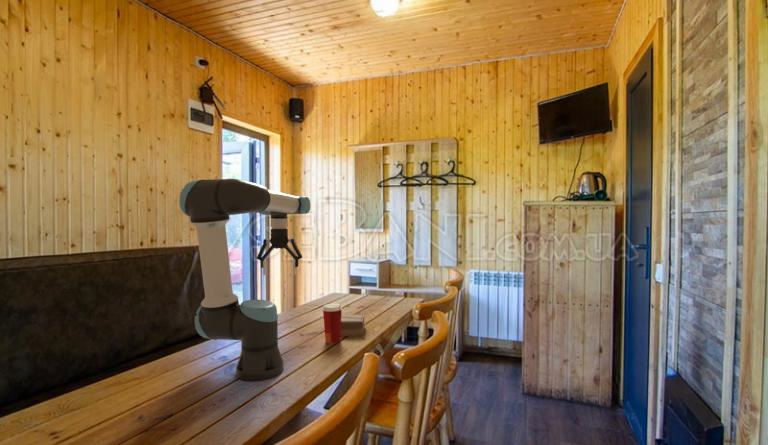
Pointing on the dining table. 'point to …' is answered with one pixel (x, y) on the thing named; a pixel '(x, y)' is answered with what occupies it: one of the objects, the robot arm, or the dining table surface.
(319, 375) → the dining table surface
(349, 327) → the riser
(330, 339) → the coffee cup
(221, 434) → the dining table surface
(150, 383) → the dining table surface
